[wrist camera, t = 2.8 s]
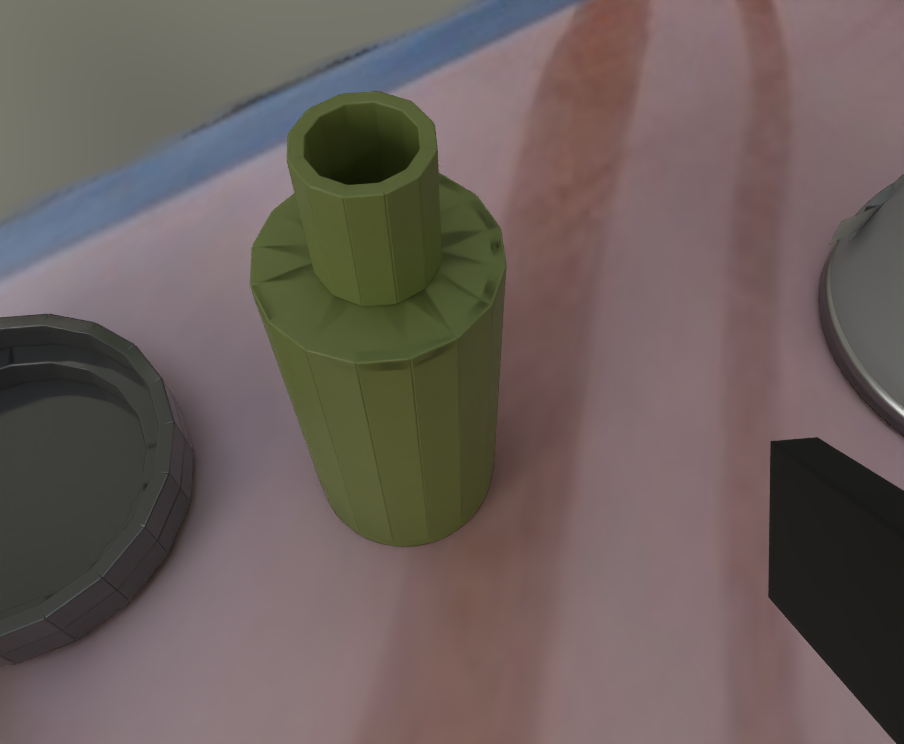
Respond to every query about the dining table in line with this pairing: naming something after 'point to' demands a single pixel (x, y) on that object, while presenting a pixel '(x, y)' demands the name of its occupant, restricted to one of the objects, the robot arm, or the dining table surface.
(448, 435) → the oil bottle
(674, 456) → the dining table surface
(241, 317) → the dining table surface
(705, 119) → the dining table surface
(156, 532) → the pan
